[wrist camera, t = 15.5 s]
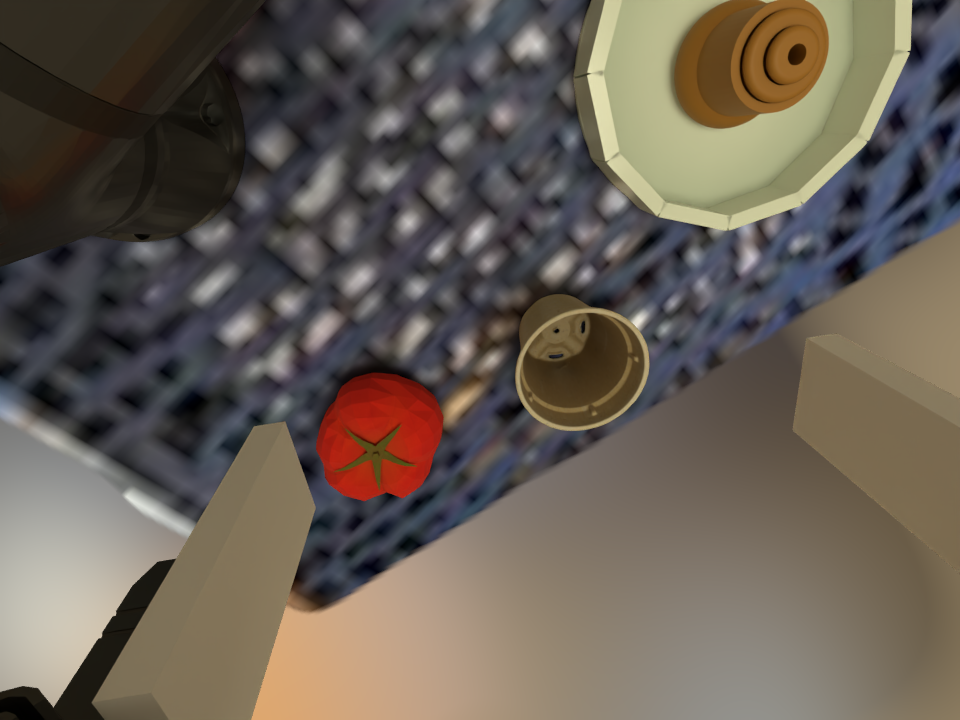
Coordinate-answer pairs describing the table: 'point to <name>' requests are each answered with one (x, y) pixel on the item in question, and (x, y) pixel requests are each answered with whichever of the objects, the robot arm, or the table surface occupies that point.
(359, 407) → the tomato
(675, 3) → the bowl
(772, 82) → the ornamental finial
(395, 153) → the table surface
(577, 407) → the flower pot
